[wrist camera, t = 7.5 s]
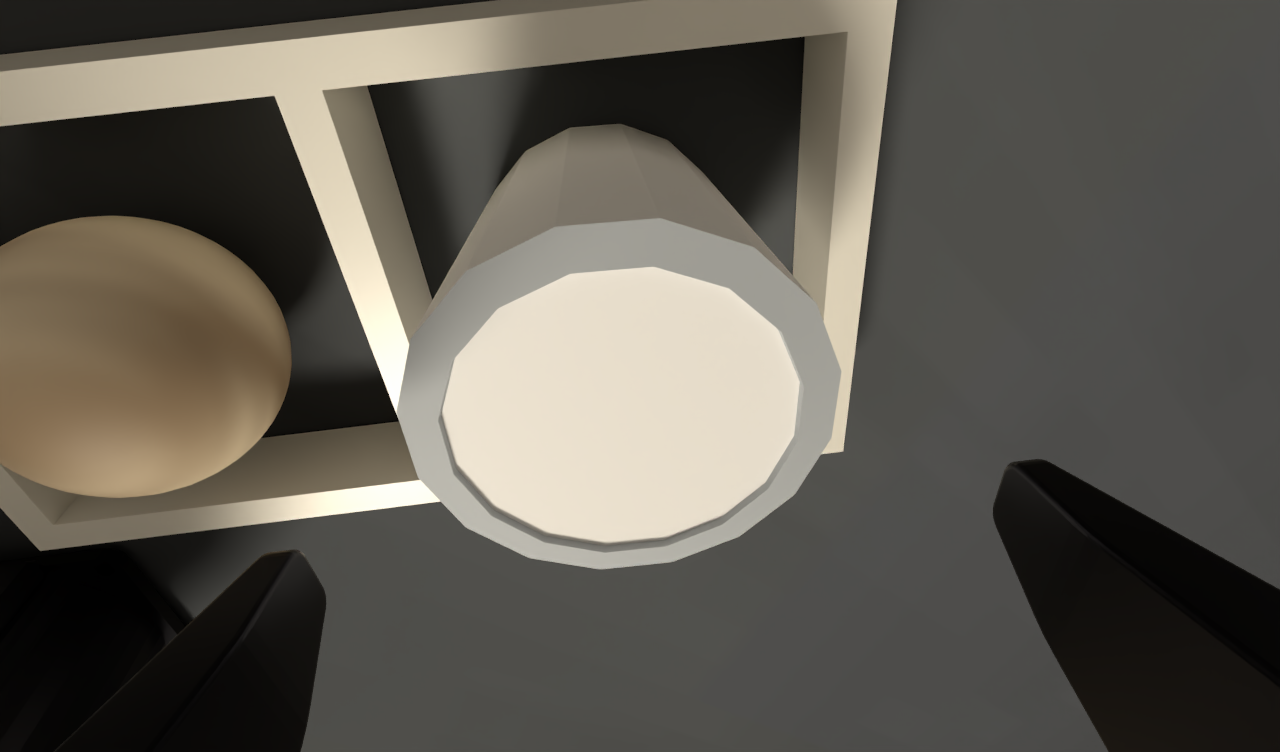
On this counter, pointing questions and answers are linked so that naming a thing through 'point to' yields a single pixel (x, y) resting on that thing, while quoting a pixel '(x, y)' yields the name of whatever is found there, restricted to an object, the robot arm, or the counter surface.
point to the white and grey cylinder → (615, 362)
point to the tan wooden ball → (133, 356)
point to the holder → (374, 212)
